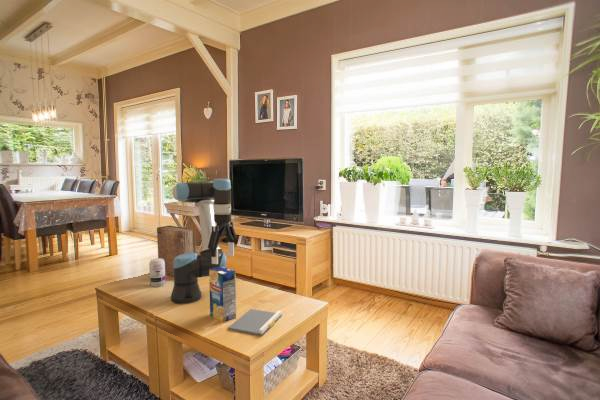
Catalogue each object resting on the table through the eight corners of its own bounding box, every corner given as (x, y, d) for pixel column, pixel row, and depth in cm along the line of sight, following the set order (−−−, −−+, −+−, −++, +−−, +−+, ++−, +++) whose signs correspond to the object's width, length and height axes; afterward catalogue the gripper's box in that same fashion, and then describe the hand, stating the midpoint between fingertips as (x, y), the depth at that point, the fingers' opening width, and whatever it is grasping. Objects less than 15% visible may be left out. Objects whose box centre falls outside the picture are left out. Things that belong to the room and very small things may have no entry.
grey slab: (228, 329, 141) (228, 324, 141) (250, 310, 160) (250, 305, 160) (263, 336, 136) (263, 330, 136) (282, 316, 155) (282, 310, 154)
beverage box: (223, 322, 148) (222, 274, 146) (210, 315, 155) (209, 269, 153) (236, 318, 153) (235, 270, 151) (222, 310, 160) (221, 265, 158)
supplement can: (160, 281, 201) (159, 257, 200) (168, 284, 196) (167, 259, 195) (147, 285, 195) (146, 260, 193) (155, 288, 190) (154, 262, 188)
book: (196, 275, 212) (195, 229, 210) (184, 279, 205) (183, 231, 202) (170, 269, 226) (169, 225, 223) (158, 272, 218) (156, 227, 215)
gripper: (214, 217, 137) (215, 268, 139) (243, 210, 160) (244, 253, 162) (198, 216, 139) (199, 266, 141) (229, 209, 163) (230, 252, 165)
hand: (223, 259), depth 152 cm, fingers open, 13 cm apart
